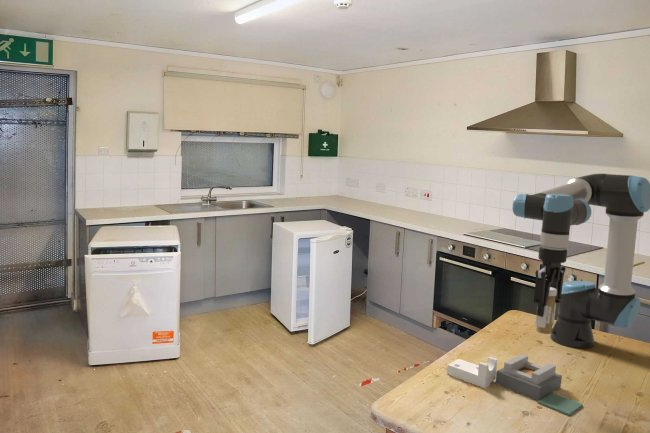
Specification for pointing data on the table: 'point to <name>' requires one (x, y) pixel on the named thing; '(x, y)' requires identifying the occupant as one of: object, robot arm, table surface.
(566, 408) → the mat
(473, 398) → the table surface
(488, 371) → the bracket
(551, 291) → the sprinkles bottle
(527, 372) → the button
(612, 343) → the table surface
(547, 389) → the grey square holder
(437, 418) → the table surface
